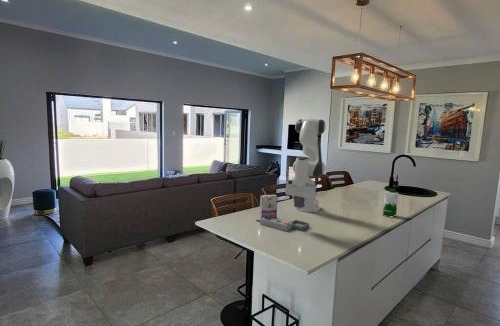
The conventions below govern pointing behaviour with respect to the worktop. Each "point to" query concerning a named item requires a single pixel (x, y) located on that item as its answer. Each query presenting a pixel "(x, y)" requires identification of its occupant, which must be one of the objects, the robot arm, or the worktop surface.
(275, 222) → the power strip
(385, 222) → the worktop surface
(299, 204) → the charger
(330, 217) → the worktop surface
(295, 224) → the felt tray
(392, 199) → the milk carton
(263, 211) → the candy bar box
